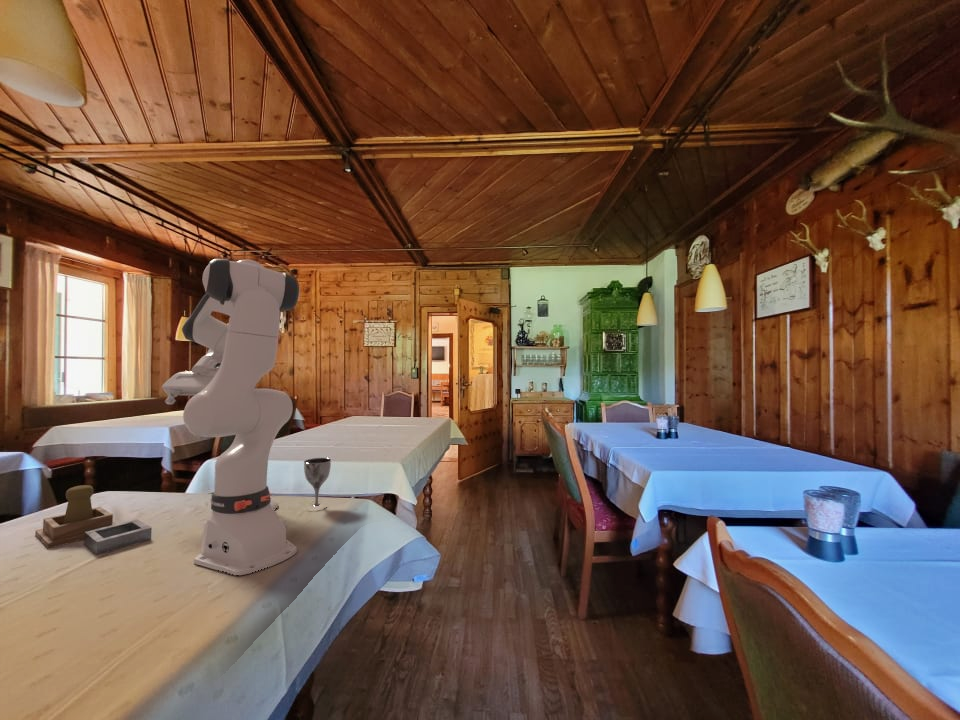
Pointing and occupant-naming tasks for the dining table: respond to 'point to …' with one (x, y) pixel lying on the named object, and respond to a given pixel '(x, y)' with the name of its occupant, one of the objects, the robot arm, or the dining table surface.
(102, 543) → the socket block
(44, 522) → the walnut rack
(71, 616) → the dining table surface
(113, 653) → the dining table surface
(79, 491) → the cork
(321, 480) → the wine glass
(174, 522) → the dining table surface
